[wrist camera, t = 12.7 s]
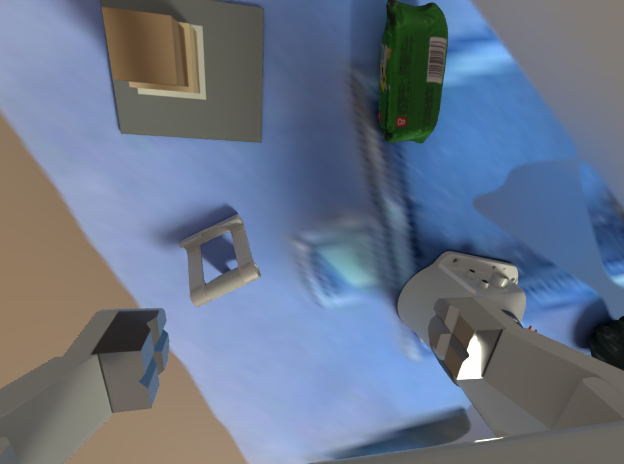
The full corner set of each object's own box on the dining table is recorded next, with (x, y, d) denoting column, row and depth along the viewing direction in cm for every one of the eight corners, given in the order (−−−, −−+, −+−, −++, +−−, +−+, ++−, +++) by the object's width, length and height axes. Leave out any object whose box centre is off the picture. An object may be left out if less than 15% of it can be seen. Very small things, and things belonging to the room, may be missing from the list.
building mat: (263, 9, 33) (263, 7, 32) (261, 141, 38) (261, 142, 38) (100, -15, 30) (97, -17, 29) (123, 133, 35) (120, 133, 35)
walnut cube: (184, 28, 29) (170, 15, 24) (188, 86, 31) (177, 84, 26) (126, 22, 28) (101, 6, 23) (135, 82, 30) (113, 79, 25)
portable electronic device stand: (237, 211, 42) (233, 236, 34) (263, 255, 45) (265, 287, 37) (181, 238, 42) (165, 268, 34) (212, 280, 45) (203, 316, 38)
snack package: (433, 3, 36) (460, -11, 31) (421, 140, 42) (441, 145, 37) (375, 5, 35) (393, -10, 30) (372, 144, 41) (386, 150, 36)
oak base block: (196, 31, 32) (189, 23, 29) (200, 93, 34) (193, 92, 31) (135, 24, 31) (119, 14, 27) (143, 88, 33) (129, 87, 30)
